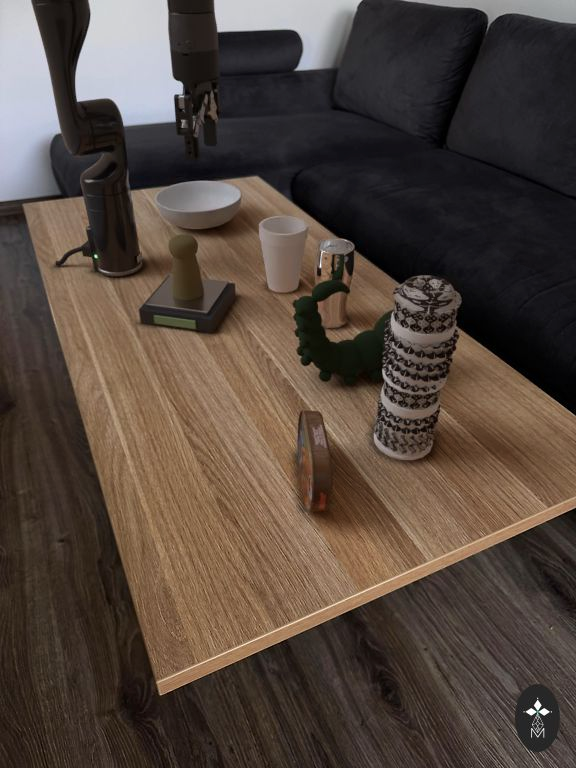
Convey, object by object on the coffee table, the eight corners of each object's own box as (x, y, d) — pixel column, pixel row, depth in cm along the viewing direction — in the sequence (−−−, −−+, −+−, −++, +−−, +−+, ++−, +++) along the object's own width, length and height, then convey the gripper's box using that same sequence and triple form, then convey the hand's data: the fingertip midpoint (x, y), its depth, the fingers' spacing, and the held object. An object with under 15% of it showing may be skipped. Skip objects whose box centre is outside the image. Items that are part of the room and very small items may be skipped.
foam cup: (270, 300, 117) (269, 238, 109) (253, 279, 124) (251, 220, 116) (313, 290, 120) (315, 230, 112) (294, 271, 127) (295, 212, 119)
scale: (140, 324, 109) (137, 310, 108) (170, 288, 121) (168, 274, 119) (211, 334, 107) (210, 320, 105) (235, 296, 118) (235, 283, 116)
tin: (295, 442, 85) (296, 397, 79) (317, 441, 85) (319, 396, 80) (307, 526, 73) (309, 479, 68) (332, 525, 73) (336, 477, 68)
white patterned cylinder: (399, 471, 80) (427, 312, 65) (358, 432, 86) (374, 278, 71) (448, 447, 84) (486, 291, 69) (405, 411, 90) (431, 261, 75)
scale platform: (146, 307, 108) (145, 303, 108) (171, 277, 118) (170, 274, 117) (207, 315, 106) (207, 311, 106) (228, 285, 116) (228, 281, 115)
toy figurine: (307, 406, 94) (456, 377, 96) (299, 303, 82) (469, 273, 84) (295, 371, 101) (434, 345, 104) (285, 272, 89) (443, 245, 92)
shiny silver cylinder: (346, 331, 108) (353, 256, 99) (309, 327, 109) (312, 252, 100) (351, 312, 113) (357, 239, 104) (315, 308, 115) (318, 235, 105)
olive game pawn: (210, 288, 113) (205, 233, 106) (193, 302, 108) (187, 246, 102) (183, 282, 115) (177, 228, 108) (165, 295, 110) (158, 240, 104)
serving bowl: (172, 204, 157) (169, 178, 153) (249, 209, 155) (248, 182, 151) (146, 236, 141) (142, 207, 137) (232, 241, 139) (231, 213, 134)
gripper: (188, 37, 98) (196, 139, 108) (152, 51, 87) (165, 163, 97) (231, 40, 97) (236, 143, 107) (200, 54, 86) (208, 167, 96)
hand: (202, 152), depth 102 cm, fingers open, 8 cm apart
